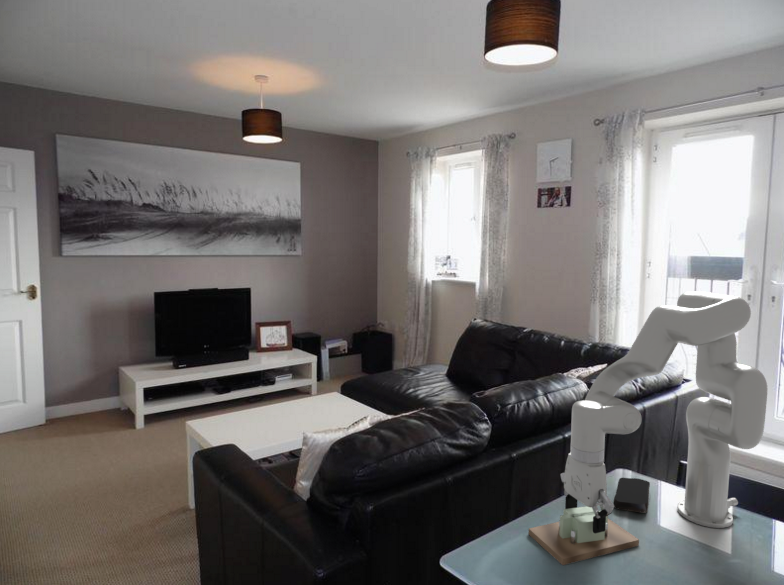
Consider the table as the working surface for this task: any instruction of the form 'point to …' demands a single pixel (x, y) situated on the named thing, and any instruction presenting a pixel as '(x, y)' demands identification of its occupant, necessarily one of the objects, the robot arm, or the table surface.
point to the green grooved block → (579, 524)
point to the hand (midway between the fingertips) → (584, 521)
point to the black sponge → (632, 495)
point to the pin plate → (573, 551)
